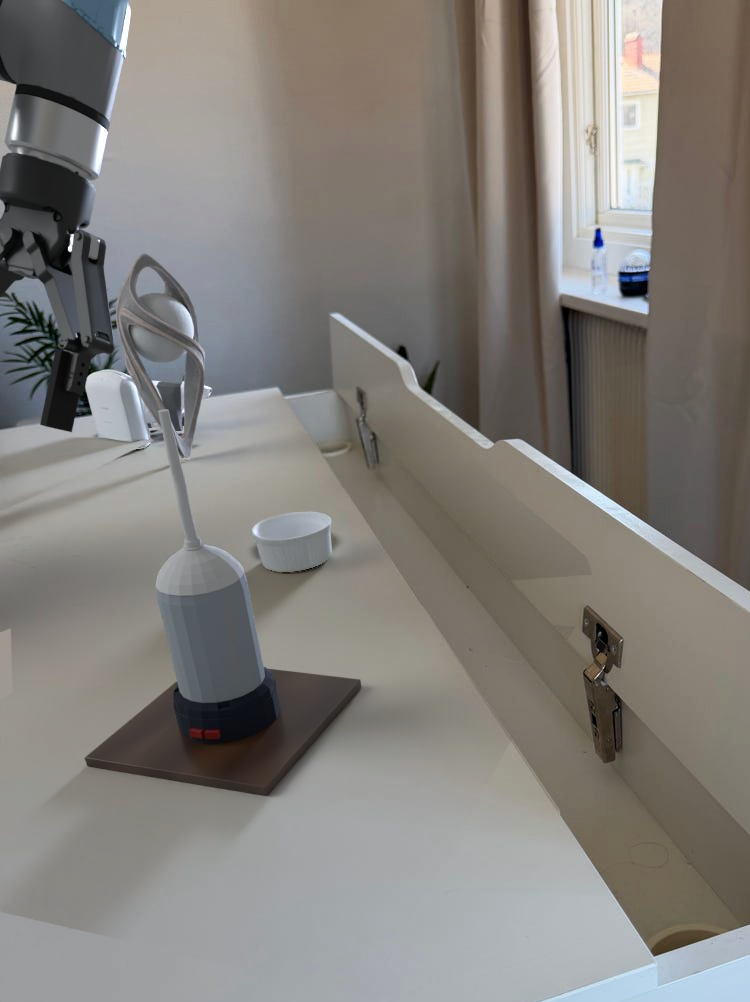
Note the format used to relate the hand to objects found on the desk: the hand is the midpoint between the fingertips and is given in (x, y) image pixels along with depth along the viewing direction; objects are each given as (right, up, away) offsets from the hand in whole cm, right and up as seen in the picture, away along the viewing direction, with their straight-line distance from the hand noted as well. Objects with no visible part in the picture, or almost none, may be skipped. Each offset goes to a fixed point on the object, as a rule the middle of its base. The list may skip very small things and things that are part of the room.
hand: (2, 412), depth 86 cm
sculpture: (-3, +8, +65) cm, 65 cm away
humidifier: (+22, -27, -7) cm, 35 cm away
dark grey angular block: (-10, +16, +82) cm, 84 cm away
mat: (+22, -27, -7) cm, 36 cm away
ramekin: (+22, -11, +24) cm, 34 cm away
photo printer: (-16, +12, +75) cm, 78 cm away
